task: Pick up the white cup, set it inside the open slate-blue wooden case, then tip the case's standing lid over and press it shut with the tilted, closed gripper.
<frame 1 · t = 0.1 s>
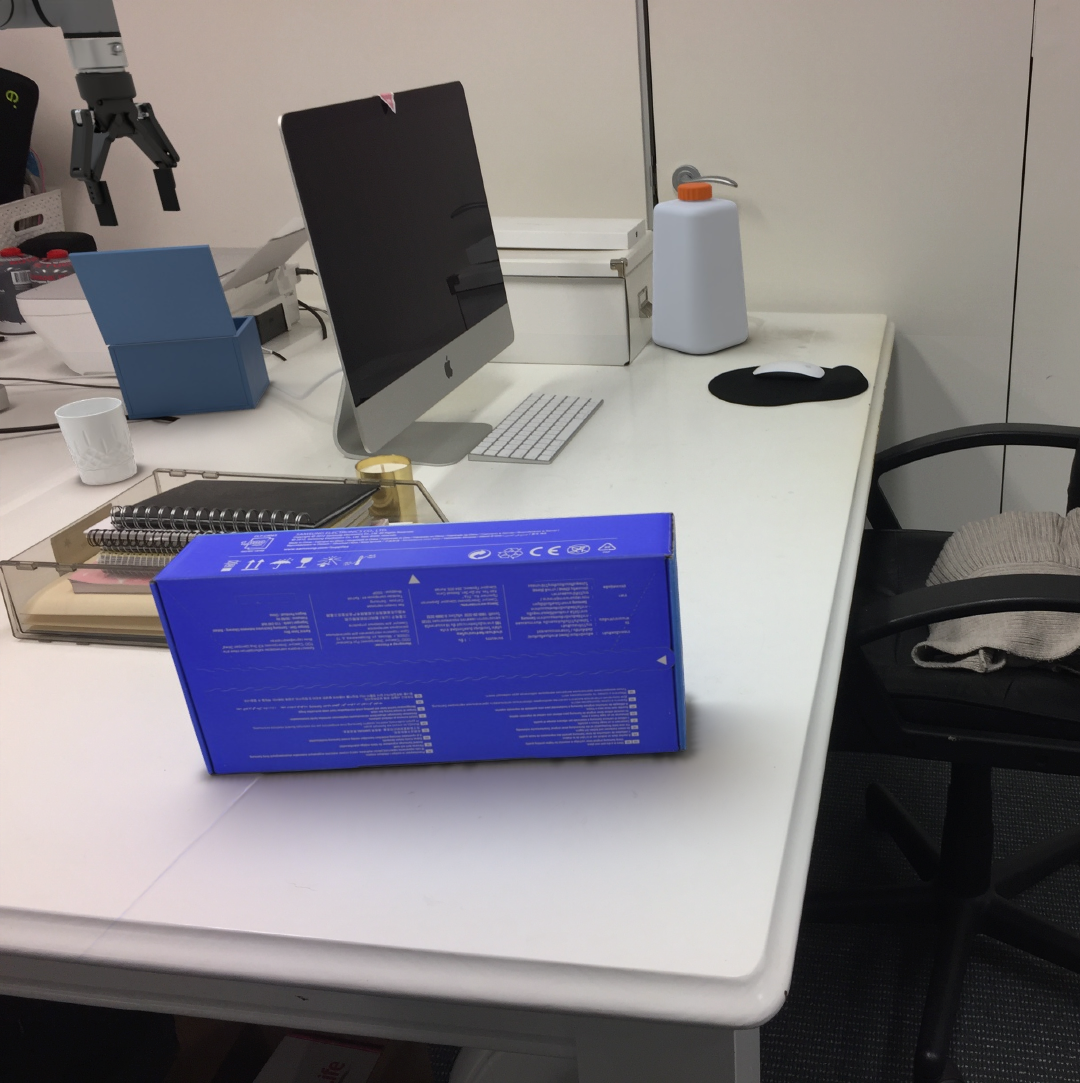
hand: (141, 218, 164), 28 cm above the table, tool pointing down, fingers open, 13 cm apart
blue cardboard box: (457, 738, 88), on the table
plastic bottle: (700, 343, 193), on the table
case lid: (156, 295, 153), point 19 cm above the table, hinge at 105.0°
white cup: (110, 477, 142), on the table
case: (202, 401, 170), on the table
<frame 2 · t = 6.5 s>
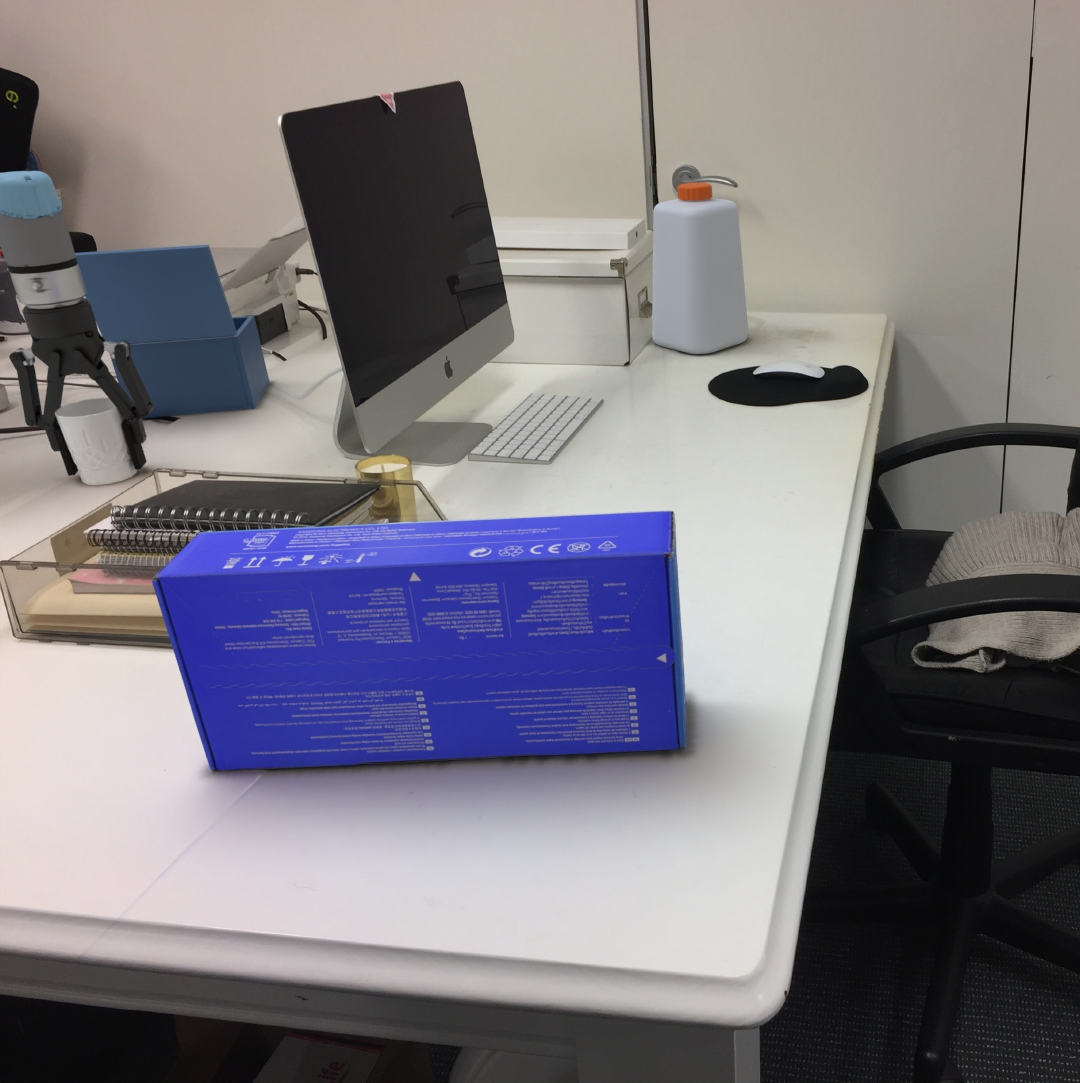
hand: (107, 468, 141), 1 cm above the table, tool pointing down, fingers closed on white cup, 8 cm apart
white cup: (110, 477, 142), on the table, touching gripper
when the fingers open (5 cm above the table, at t = 18.7 s): white cup stays where it is, resting on case.
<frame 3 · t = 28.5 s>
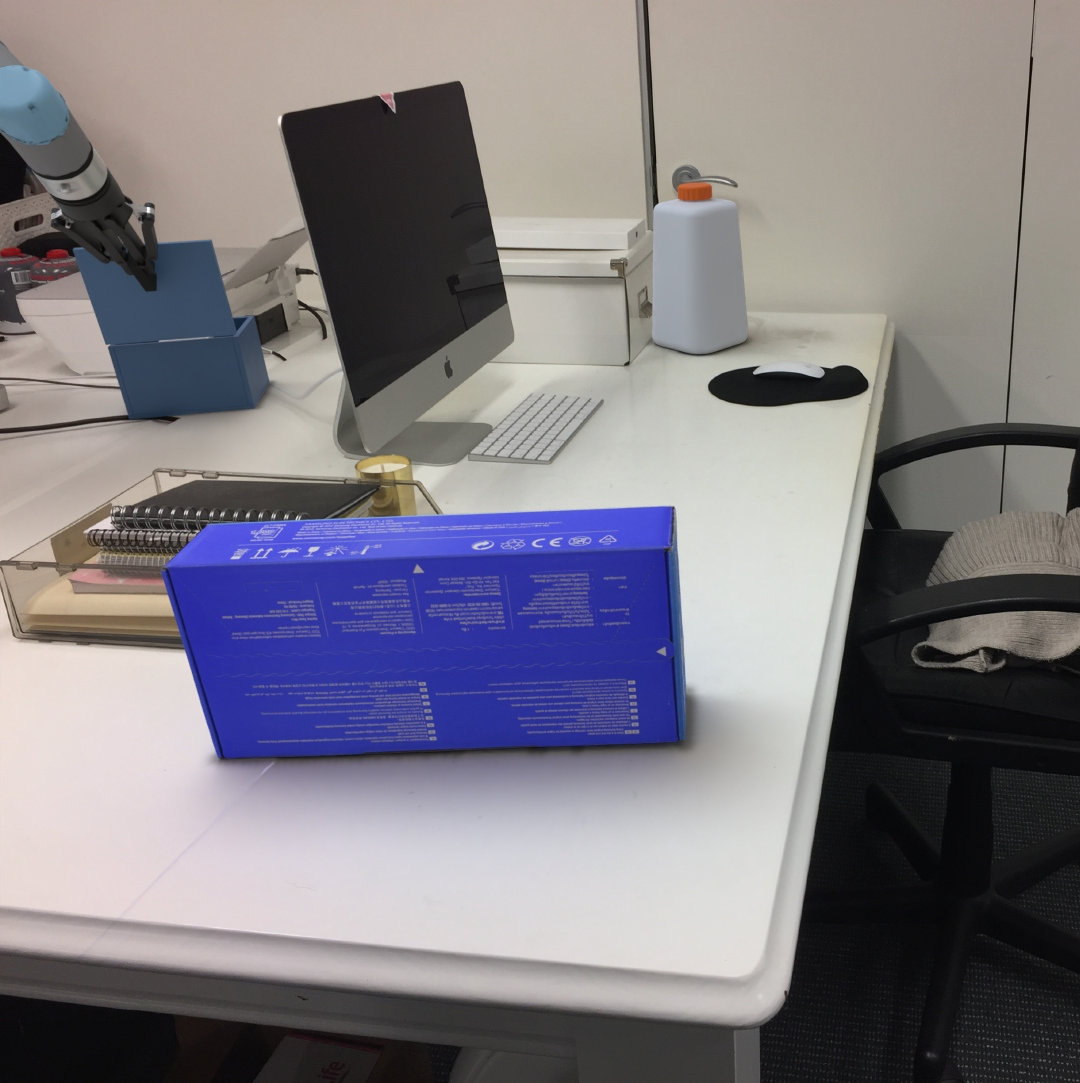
hand: (151, 283, 152), 21 cm above the table, tool tilted 45°, fingers closed
blue cardboard box: (461, 726, 89), on the table
case lid: (157, 292, 154), point 19 cm above the table, hinge at 96.2°, touching gripper
white cup: (202, 397, 169), point 1 cm above the table, touching case
everything else where it was.
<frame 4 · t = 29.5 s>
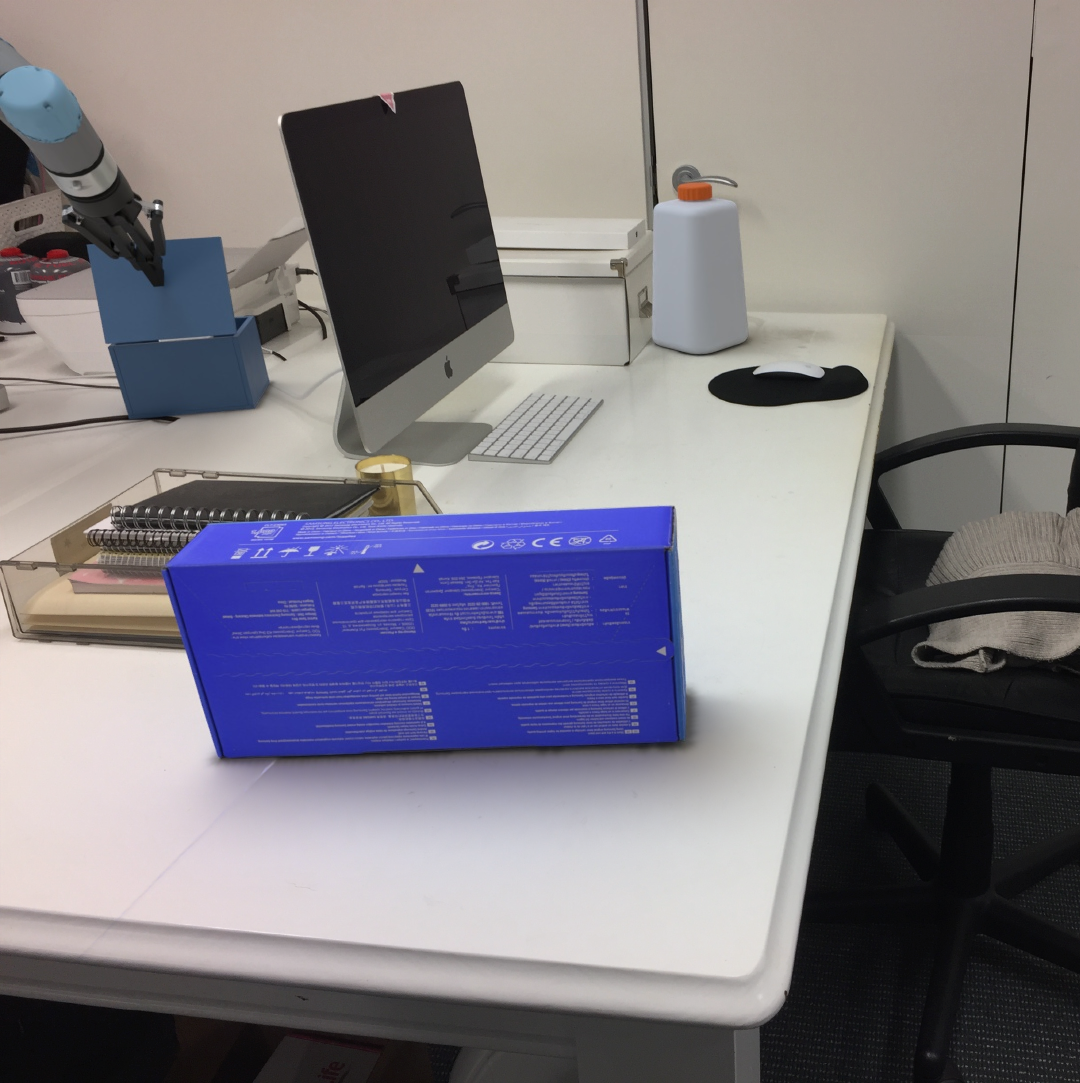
hand: (158, 278, 155), 21 cm above the table, tool tilted 45°, fingers closed
case lid: (163, 290, 157), point 19 cm above the table, hinge at 73.3°, touching gripper
everything else where it was.
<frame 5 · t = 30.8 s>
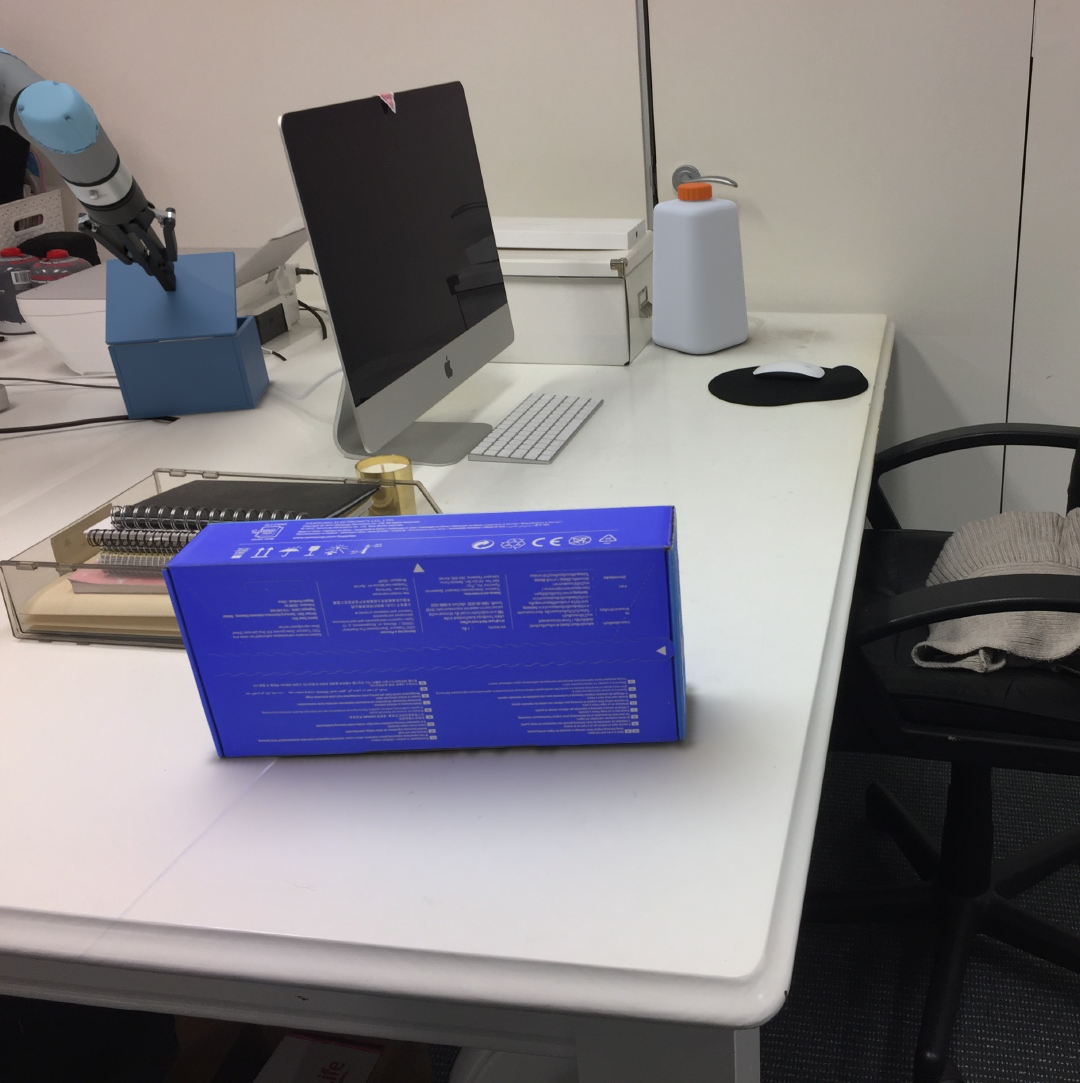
hand: (170, 283, 160), 19 cm above the table, tool tilted 45°, fingers closed
case lid: (171, 297, 160), point 17 cm above the table, hinge at 45.7°, touching gripper
everything else where it was.
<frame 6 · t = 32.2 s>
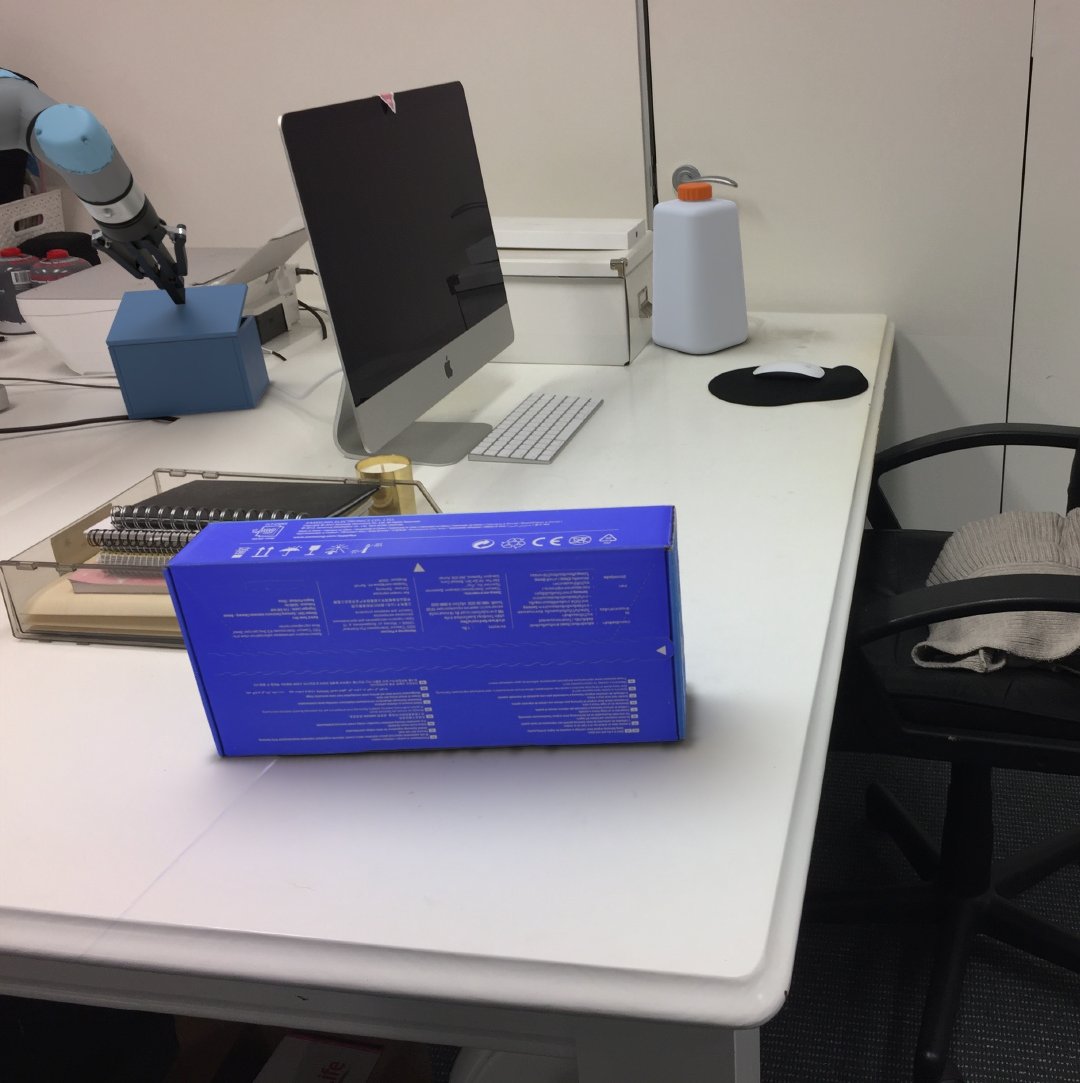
hand: (180, 296, 164), 17 cm above the table, tool tilted 45°, fingers closed
case lid: (179, 313, 163), point 14 cm above the table, hinge at 17.7°, touching gripper
everything else where it was.
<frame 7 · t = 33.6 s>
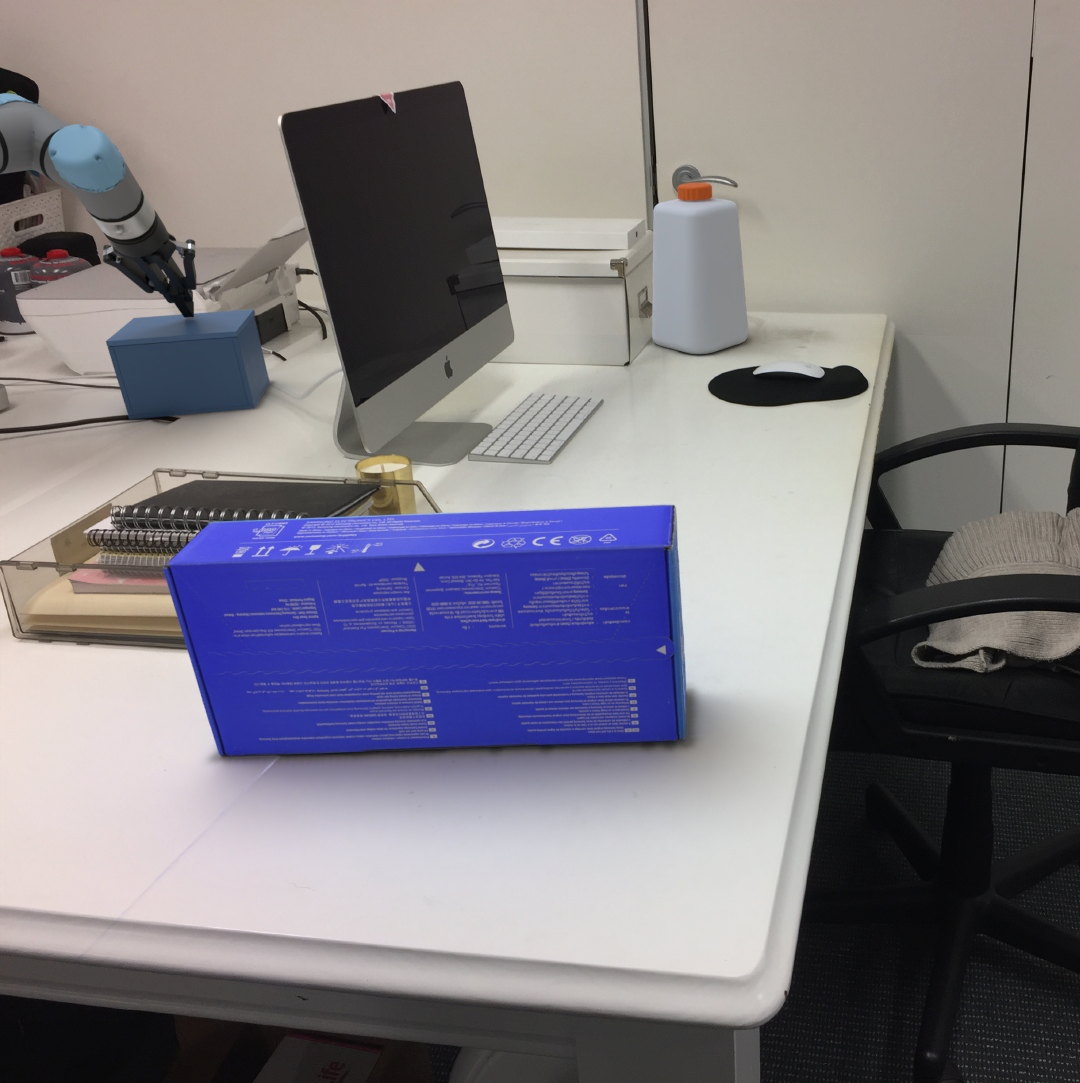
hand: (189, 309, 168), 14 cm above the table, tool tilted 45°, fingers closed
case lid: (184, 327, 165), point 12 cm above the table, hinge at -0.2°, touching case, gripper
everything else where it was.
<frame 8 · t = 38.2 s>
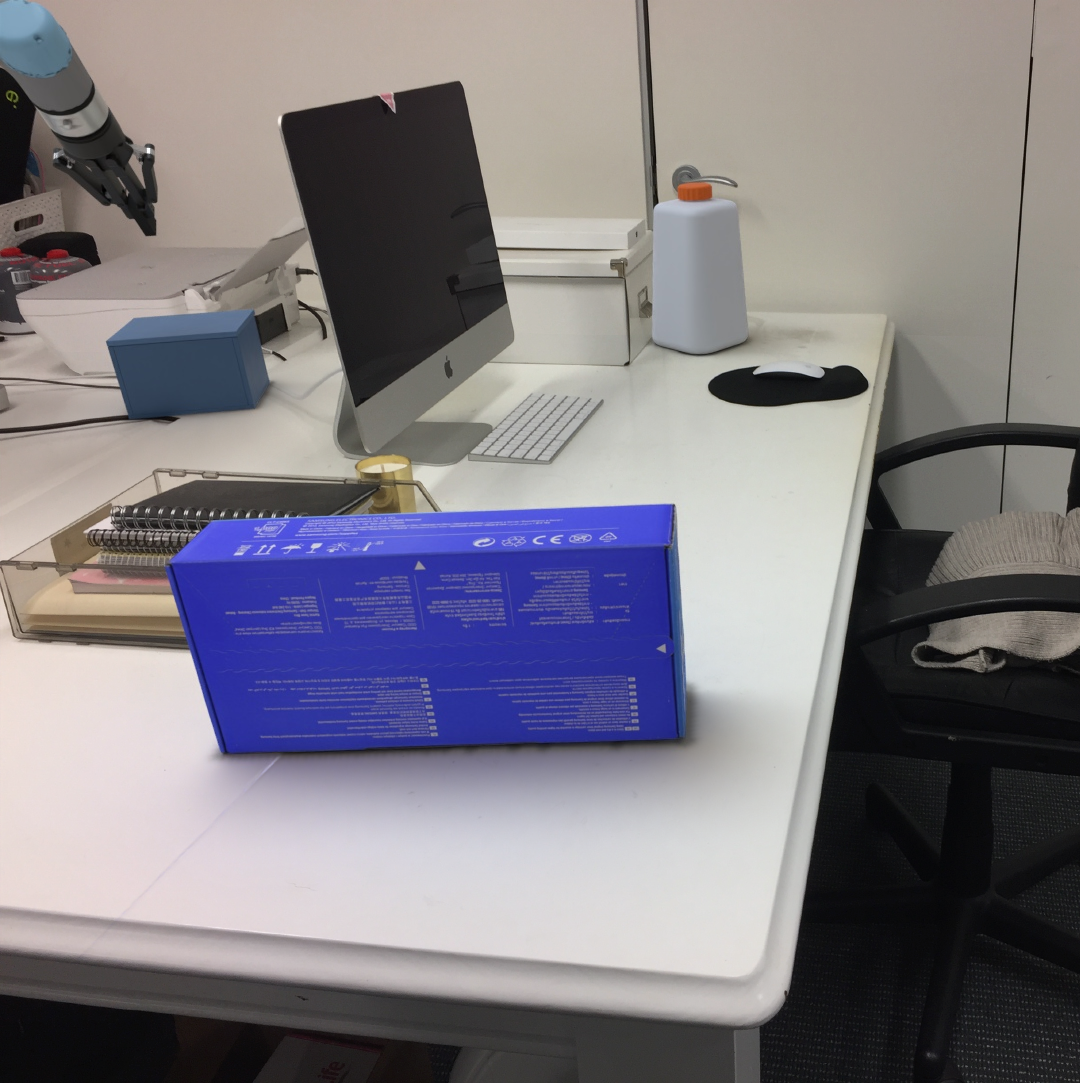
hand: (151, 228, 155), 28 cm above the table, tool tilted 45°, fingers closed
case lid: (184, 327, 165), point 12 cm above the table, hinge at -0.2°, touching case
everything else where it was.
at the end: case lid at +0° (first picture: +105°); white cup inside the target area in the case (0.0 cm from its centre), point 0.6 cm above the case's base; white cup tilted 0° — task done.
